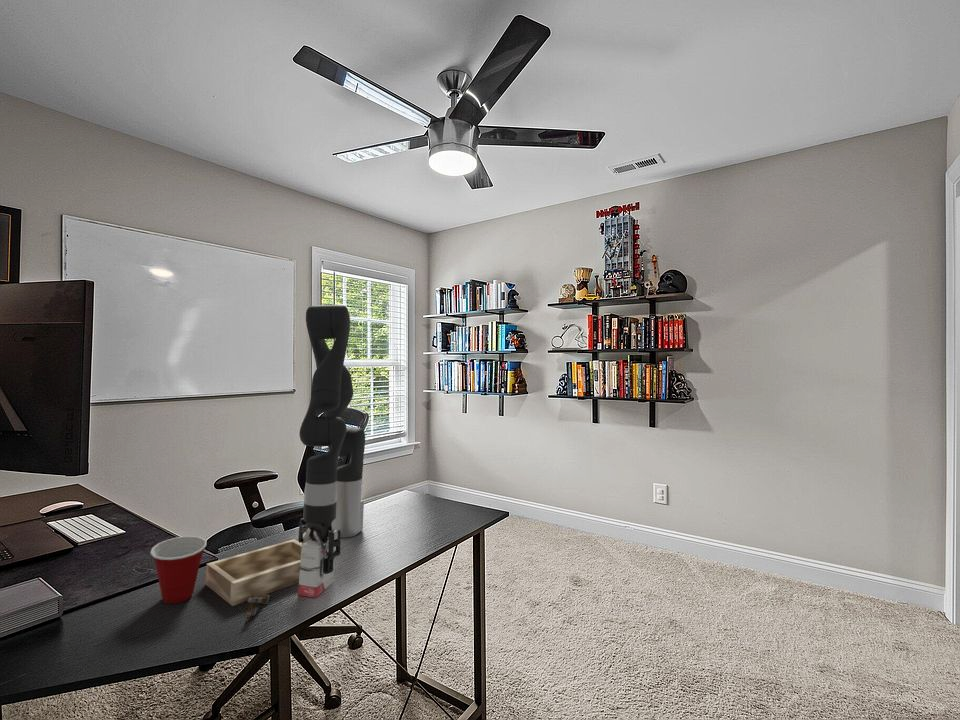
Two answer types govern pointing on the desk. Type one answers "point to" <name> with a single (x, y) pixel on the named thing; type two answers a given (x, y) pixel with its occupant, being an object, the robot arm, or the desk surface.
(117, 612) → the desk surface
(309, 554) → the ink box
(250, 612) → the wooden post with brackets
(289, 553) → the trough
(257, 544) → the desk surface
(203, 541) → the plastic cup
